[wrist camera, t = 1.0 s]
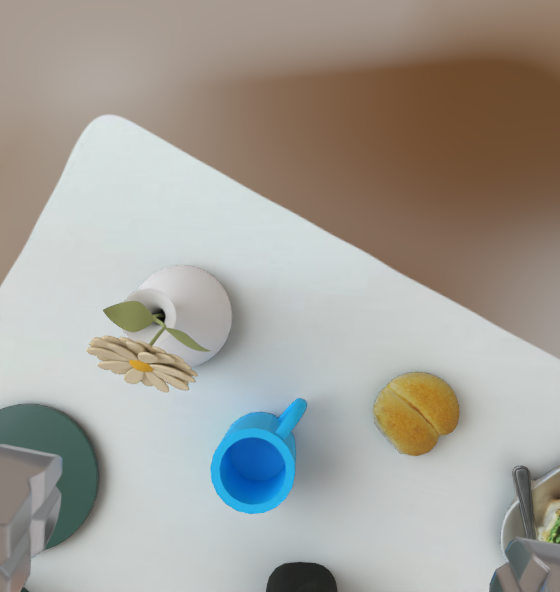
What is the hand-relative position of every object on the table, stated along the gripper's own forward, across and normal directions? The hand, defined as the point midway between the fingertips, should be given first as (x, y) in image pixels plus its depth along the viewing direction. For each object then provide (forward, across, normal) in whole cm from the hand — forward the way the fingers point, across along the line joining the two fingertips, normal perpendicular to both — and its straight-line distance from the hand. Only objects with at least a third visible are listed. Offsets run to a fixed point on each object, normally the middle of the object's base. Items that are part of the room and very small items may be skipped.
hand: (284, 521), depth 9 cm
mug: (+40, +3, -28) cm, 49 cm away
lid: (+38, -23, -38) cm, 58 cm away
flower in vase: (+45, -8, -19) cm, 50 cm away
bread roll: (+41, +18, -22) cm, 50 cm away
